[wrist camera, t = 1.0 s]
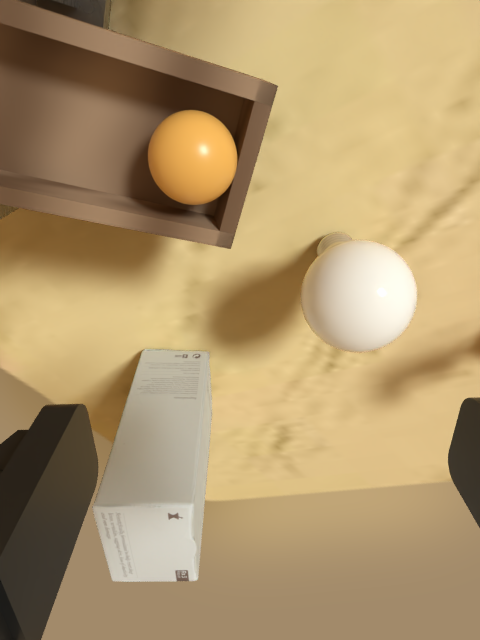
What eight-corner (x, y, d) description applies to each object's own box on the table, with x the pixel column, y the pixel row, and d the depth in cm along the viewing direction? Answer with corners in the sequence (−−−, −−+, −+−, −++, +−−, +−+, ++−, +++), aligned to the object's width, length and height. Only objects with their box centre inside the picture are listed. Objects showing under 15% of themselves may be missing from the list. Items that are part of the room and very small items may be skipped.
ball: (158, 93, 20) (154, 103, 16) (241, 118, 21) (254, 132, 17) (143, 180, 22) (137, 205, 18) (220, 198, 23) (228, 226, 19)
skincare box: (142, 347, 36) (82, 500, 23) (214, 348, 36) (193, 504, 23) (151, 421, 40) (104, 586, 28) (215, 423, 40) (198, 589, 28)
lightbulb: (386, 271, 32) (442, 357, 23) (304, 296, 33) (324, 388, 24) (368, 190, 29) (425, 249, 20) (279, 221, 31) (291, 291, 21)
